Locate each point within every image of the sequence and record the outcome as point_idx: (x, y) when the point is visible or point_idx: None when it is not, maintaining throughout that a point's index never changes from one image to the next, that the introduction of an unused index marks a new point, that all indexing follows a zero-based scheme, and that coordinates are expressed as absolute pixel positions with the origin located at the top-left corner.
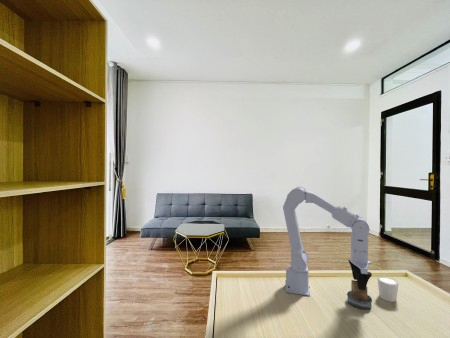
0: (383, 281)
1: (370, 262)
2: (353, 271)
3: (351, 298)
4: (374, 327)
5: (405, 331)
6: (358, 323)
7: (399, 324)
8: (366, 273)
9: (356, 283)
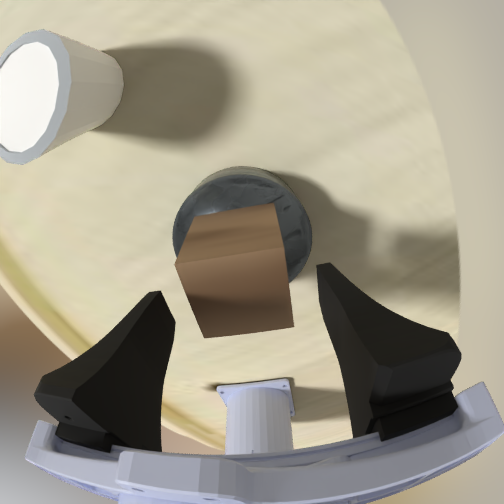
0: (41, 120)
1: (204, 498)
2: (160, 375)
3: (290, 280)
4: (421, 178)
5: (399, 56)
6: (413, 234)
7: (357, 60)
8: (483, 392)
9: (247, 314)
